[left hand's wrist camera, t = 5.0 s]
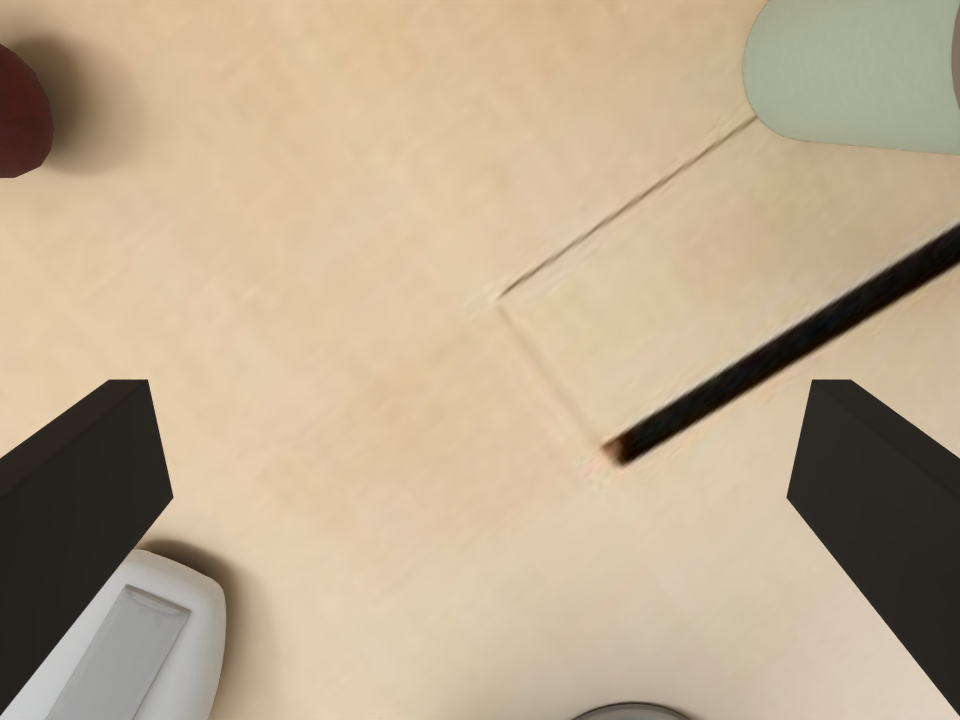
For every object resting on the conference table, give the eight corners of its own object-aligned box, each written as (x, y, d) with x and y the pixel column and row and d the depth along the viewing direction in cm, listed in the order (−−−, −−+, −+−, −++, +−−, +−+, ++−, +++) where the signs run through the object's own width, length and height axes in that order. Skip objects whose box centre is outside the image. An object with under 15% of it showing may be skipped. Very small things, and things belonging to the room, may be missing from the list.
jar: (763, -44, 33) (1107, -229, 15) (927, -29, 34) (1461, -195, 15) (726, 134, 37) (971, 159, 18) (875, 146, 37) (1263, 181, 19)
